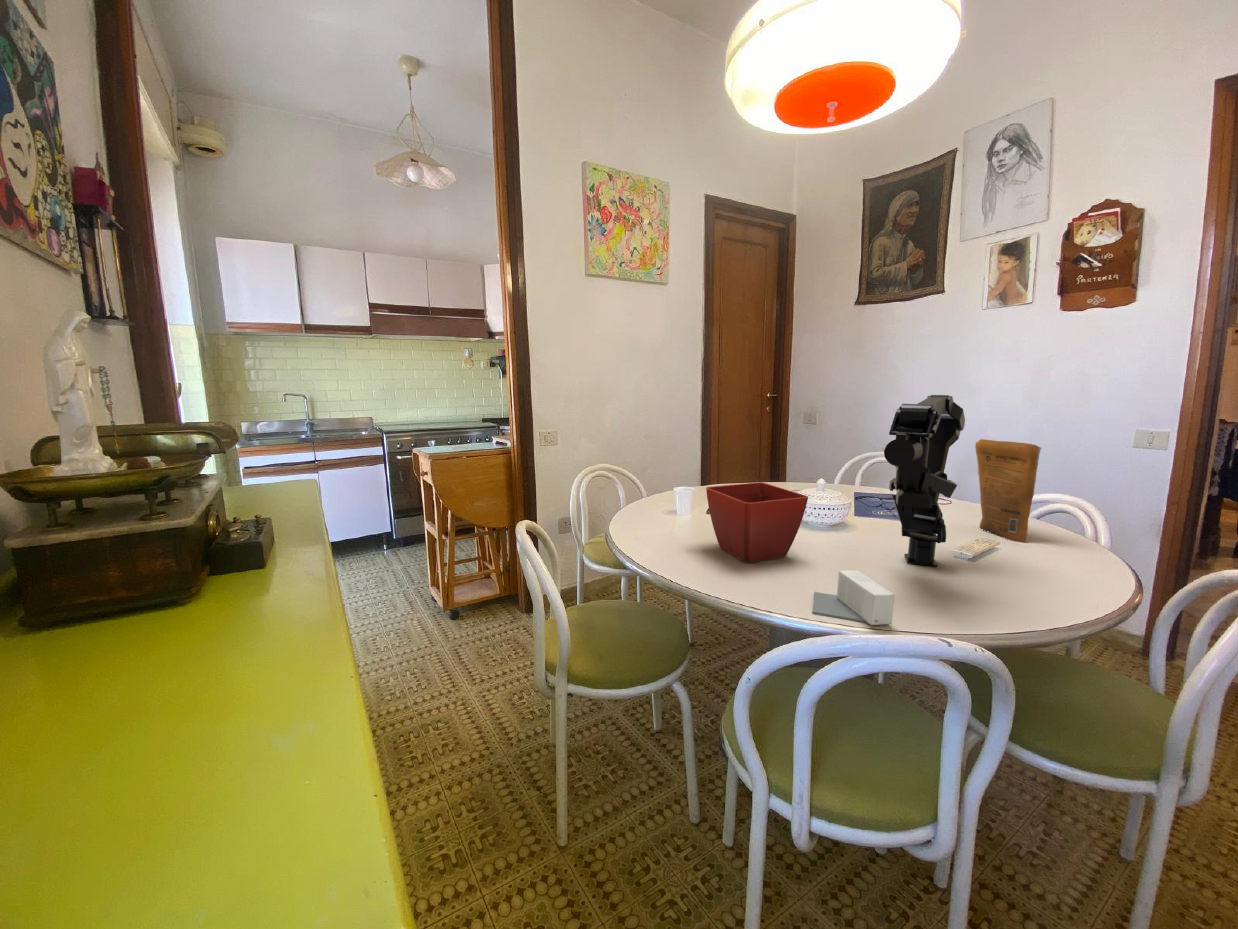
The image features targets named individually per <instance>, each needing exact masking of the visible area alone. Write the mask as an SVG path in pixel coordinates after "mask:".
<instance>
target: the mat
mask: <svg viewBox="0 0 1238 929" xmlns="http://www.w3.org/2000/svg"><path fill="white" fill-rule="evenodd" d="M812 601H813V602H812V613H814V615H820V616H825V617H830V616H831V617H830V618H836V619H842V620H848V621H853V622H854V621H855V622H859V623H865V624H869V623H868V622H867V621H866V620H864V619H863V618H862V617H860V616H859V615H858V614H857V613H855V612H854V611H853V610H852V609H850V608H849V607H848V606H847V605H845V604H844V603H843V602H842V601H840V600H839V599H838V598H837V594H831V593H824V592H819V591H814V592H813V600H812Z"/></svg>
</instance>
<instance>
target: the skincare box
mask: <svg viewBox="0 0 1238 929" xmlns="http://www.w3.org/2000/svg"><path fill="white" fill-rule="evenodd" d="M836 595H837V598H838V599H839V600H840V601H842V602H843V603H844V604H845V605H847V606H848V607H849V608H850V609H852V610H853V611H854V612H855V613H857V614H858V615H859V616H860V617H862V618H863V619H864V620H866V621H867V622H868V623H867V624H869V625H871V626H874V625H875V626H877V625H892V623H893V614H894V613H893V612H894V604H895V603H894V602H895V594H894V593H893V592H891V591H889V590H888V589H886V588H885V587H883V586H882V585H880V584H878V583H877V582H875V581H874V580H873V579H871V578H869V577H868V576H866V575H865V574H863V573H862V572H860V571H859V570H840V571H838V578H837V591H836Z"/></svg>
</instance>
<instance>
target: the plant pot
mask: <svg viewBox="0 0 1238 929" xmlns="http://www.w3.org/2000/svg"><path fill="white" fill-rule="evenodd" d="M705 490H706V497H707V505H708V510H709V515H710V519H711V524H712V528H713V531H714V534H715V537H716V540H717V544H718V546H719V548H720V549H722V550H723V551H725V552H726V553H728V554H730V555H731V556H733V557H735V558H737V559H739V560H740V561H742V562H744V563H755V562H762V561H768V560H769V561H770V560H776V559H782V558H785V557H787V555H788V553H789V551H790V549H791V547H792V545H793V543H794V541H795V538H796V537H797V534H798V532H799V529H800V528H801V527H800V526H801V523H802V520H803V518H804V515H805V512H806V508H807V504H808V499H809V496H808V495H804V494H802V493H798V492H795V491H792V490H789V489H786V488H781V487H779V486H776V485H773V484H768V483H765V482H748V483H737V484H727V485H726V484H725V485H715V486H714V485H713V486H707V487H705Z"/></svg>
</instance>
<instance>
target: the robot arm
mask: <svg viewBox="0 0 1238 929" xmlns="http://www.w3.org/2000/svg"><path fill="white" fill-rule="evenodd" d="M964 411H965V410H964V408H963V407H961V406H960V405H959V404H957V403H956V402H955V401H954V397H953V396H952V395H951V396H950V395H948V394H930V395H927V396H926V398H925V399H924V400H922V401H919V402H917V403H902V404H901V405H900V406H899V408H897V409H896V410H895V414H894V417H893V420H892V423H891V426H890V430H889V433H888V435H890V436H895V439H893V440H890V441H889V442H888V443H887V444H886V445H885V448H884V450H883V456H884V458H885V460H886V462H888V463H889V464H890V465H891V466H895V469H896V470H895V471H896V472H895V477H893V478H892V479H891V480H890V481H889V487H888V489H889V491H890V492H894V490H895V491H896V493H895V494H892V495H891V498H892V500H893V504H894V507H895V509H896V512H897V514H898V515H897V516H898V518H899V522H900V526H901V537H908V538H909V539H908V550H907V553H904V558H905V560H906V562H907V564H912V565H920V566H928V567H936V568H937V567H939V564H938V563H937V561H936V559H935V558H936V557H935V555H936V554H935V553H936V546H937V545H936V544H941V543H946V542H947V527H946V526H947V525H946V524H945V519H944V518H943V516H944V515H943V512H942V509H941V508H940V505H939V502H938V501H939V497H940V495H942V496H944V497H945V498H948V499H950V498H951V497H952V495H953V494H954V492H955V490H956V488H957V487H958V484H957V483H955V482H954V481H952V480H950V479H948V474H947V473H945V470H946V464H947V460H948V453H949V450H950V447H952V446H953V445H954V444H955V443H956V442H957V441H958V440H959V438H960V436H961V432H962V431H964V429H965V423H966V418H965V412H964Z"/></svg>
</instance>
